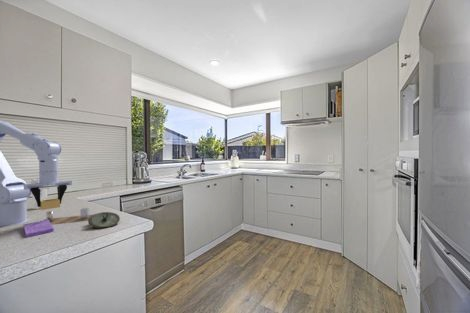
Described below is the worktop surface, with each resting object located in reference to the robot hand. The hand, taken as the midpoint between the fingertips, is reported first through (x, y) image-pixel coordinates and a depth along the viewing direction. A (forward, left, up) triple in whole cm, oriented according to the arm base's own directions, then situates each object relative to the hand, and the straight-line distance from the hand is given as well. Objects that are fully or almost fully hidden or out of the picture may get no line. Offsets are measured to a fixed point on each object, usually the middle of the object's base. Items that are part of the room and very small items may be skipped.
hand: (49, 205), depth 85 cm
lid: (+22, -12, -8) cm, 26 cm away
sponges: (+1, -11, -7) cm, 13 cm away
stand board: (+6, 0, -7) cm, 9 cm away
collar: (0, 0, -1) cm, 1 cm away
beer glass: (-17, +35, -8) cm, 40 cm away
